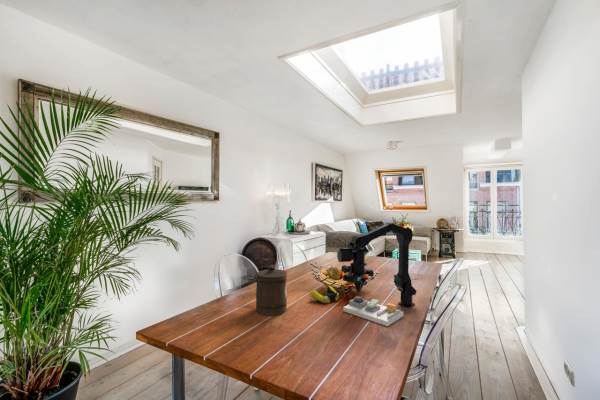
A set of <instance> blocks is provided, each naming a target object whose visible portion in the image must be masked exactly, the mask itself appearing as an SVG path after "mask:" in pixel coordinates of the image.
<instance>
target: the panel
mask: <svg viewBox="0 0 600 400" xmlns="http://www.w3.org/2000/svg"><path fill="white" fill-rule="evenodd" d="M369 302H370V301H369V300H367V299H363V302H362V303H357V302H354V298H353V299H350V300H349V302H348V304H347V305H344V306H343V312H345V313H349V314H350V315H354V316H357V317H360V318H362V319H366V320H368V321H370V322H371V321H372V322H373V323H377V324H380V325H382V326H384V327H385V326H386V327H389V326H390V325H392V324H393V323H395V322H397V321H399V319H401V318H402V317H404V311H401V309H396V311H395V312H393V313H391V312H388V311H387V306H385V305H381V304H379V303H378V304H377V305H375V306H374V307H373V308H370V307H367V304H368V303H369Z"/></svg>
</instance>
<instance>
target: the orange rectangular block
mask: <svg viewBox="0 0 600 400" xmlns="http://www.w3.org/2000/svg"><path fill="white" fill-rule="evenodd" d="M386 307H387V311H388V312H391V313H393V312H395V311H396V310H397V305H396V304H393V303H390V302H389V303H387V304H386Z"/></svg>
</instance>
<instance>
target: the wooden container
mask: <svg viewBox="0 0 600 400" xmlns="http://www.w3.org/2000/svg"><path fill="white" fill-rule="evenodd" d="M267 266H268V267H267V268H268V269H263V270H260V271H257V273H256V290H255V291H256V292H255V294H256V295H255V298H256V300H255V311H256V313H258V314H259V315H261V316H269V317H272V316H279V315H281V314H284V313H285V312H286V311H287V307H288V306H287V301H288V300H287V299H288V297H287V296H288V295H287V291H288V290H287V280H288V279H287V278H288V277H287V275H288V274H287V273H288V272H287V271H286V270H282V269H278V268H277V269H276V266H275V264H269V265H267Z"/></svg>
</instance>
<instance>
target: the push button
mask: <svg viewBox="0 0 600 400" xmlns="http://www.w3.org/2000/svg"><path fill="white" fill-rule="evenodd" d="M353 299H354V302H357V303H362V302H363V300H364V299H363V297H362V296H358V295H357V296H354V298H353Z"/></svg>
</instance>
